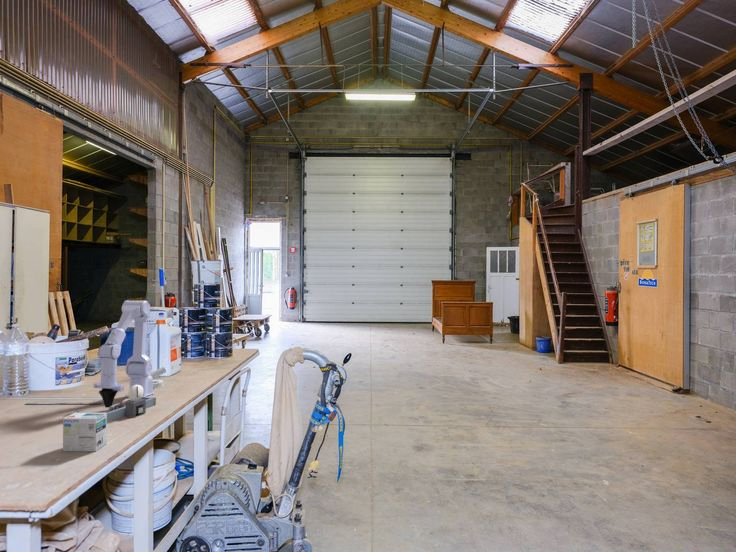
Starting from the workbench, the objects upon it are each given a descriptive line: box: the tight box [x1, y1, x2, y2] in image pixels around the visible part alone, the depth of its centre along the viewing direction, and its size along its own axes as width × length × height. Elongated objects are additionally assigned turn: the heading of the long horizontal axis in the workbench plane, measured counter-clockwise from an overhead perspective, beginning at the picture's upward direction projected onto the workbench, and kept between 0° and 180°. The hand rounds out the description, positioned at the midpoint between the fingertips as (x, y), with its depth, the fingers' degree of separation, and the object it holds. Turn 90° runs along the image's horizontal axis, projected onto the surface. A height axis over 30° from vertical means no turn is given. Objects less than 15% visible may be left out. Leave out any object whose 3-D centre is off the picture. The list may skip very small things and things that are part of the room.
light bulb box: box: [62, 411, 108, 452], centre depth 149 cm, size 11×7×11 cm, turn 92°
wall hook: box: [150, 366, 167, 389], centre depth 227 cm, size 9×10×10 cm
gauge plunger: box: [123, 406, 143, 414], centre depth 183 cm, size 2×8×2 cm, turn 70°
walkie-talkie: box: [101, 398, 143, 413], centre depth 189 cm, size 9×4×20 cm
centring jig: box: [73, 385, 157, 423], centre depth 185 cm, size 27×18×12 cm
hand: (108, 406), depth 188 cm, fingers closed
